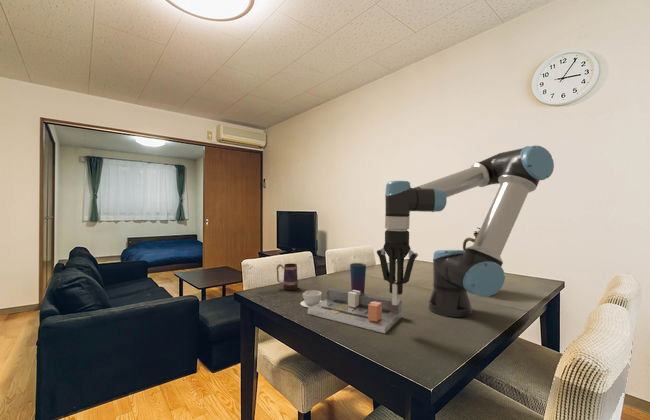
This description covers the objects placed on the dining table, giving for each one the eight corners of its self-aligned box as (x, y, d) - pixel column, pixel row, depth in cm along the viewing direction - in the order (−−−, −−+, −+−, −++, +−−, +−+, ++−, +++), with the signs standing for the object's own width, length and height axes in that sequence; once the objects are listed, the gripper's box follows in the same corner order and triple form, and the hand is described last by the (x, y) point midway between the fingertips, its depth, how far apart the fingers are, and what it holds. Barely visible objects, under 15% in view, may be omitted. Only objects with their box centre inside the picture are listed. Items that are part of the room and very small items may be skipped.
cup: (365, 302, 119) (365, 266, 119) (349, 301, 120) (349, 265, 120) (366, 297, 126) (366, 263, 126) (350, 296, 127) (350, 262, 127)
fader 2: (382, 317, 97) (382, 302, 97) (376, 321, 94) (376, 305, 93) (373, 315, 99) (373, 300, 99) (368, 319, 95) (368, 303, 95)
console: (401, 317, 103) (401, 300, 103) (384, 333, 90) (384, 314, 90) (330, 301, 120) (330, 287, 120) (307, 313, 107) (307, 297, 107)
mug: (297, 286, 144) (297, 262, 144) (298, 290, 137) (298, 265, 137) (277, 287, 142) (276, 262, 142) (276, 291, 135) (276, 265, 135)
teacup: (329, 303, 119) (329, 292, 119) (315, 310, 111) (315, 298, 111) (310, 299, 125) (310, 288, 125) (295, 305, 116) (295, 294, 116)
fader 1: (360, 304, 110) (360, 290, 110) (355, 307, 107) (355, 293, 107) (353, 302, 112) (353, 289, 112) (347, 305, 108) (347, 292, 108)
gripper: (421, 230, 91) (419, 304, 91) (382, 228, 98) (381, 297, 99) (414, 231, 85) (412, 311, 85) (373, 229, 92) (371, 303, 92)
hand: (395, 303), depth 92 cm, fingers closed
